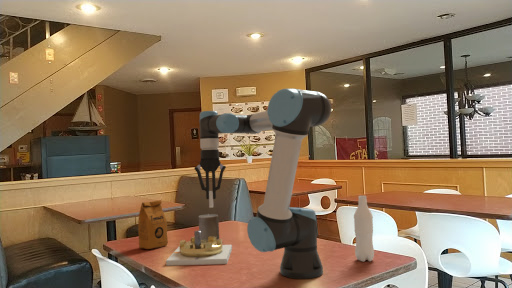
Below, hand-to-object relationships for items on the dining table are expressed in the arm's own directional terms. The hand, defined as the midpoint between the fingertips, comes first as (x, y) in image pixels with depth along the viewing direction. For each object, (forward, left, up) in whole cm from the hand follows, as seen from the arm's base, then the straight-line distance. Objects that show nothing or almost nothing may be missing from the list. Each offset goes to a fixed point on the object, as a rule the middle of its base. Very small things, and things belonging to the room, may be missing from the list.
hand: (211, 207), depth 162 cm
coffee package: (+27, +32, -22) cm, 47 cm away
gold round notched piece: (+7, +6, -20) cm, 22 cm away
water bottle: (-5, -60, -22) cm, 64 cm away
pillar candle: (+31, +6, -22) cm, 39 cm away
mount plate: (+7, +6, -22) cm, 24 cm away
